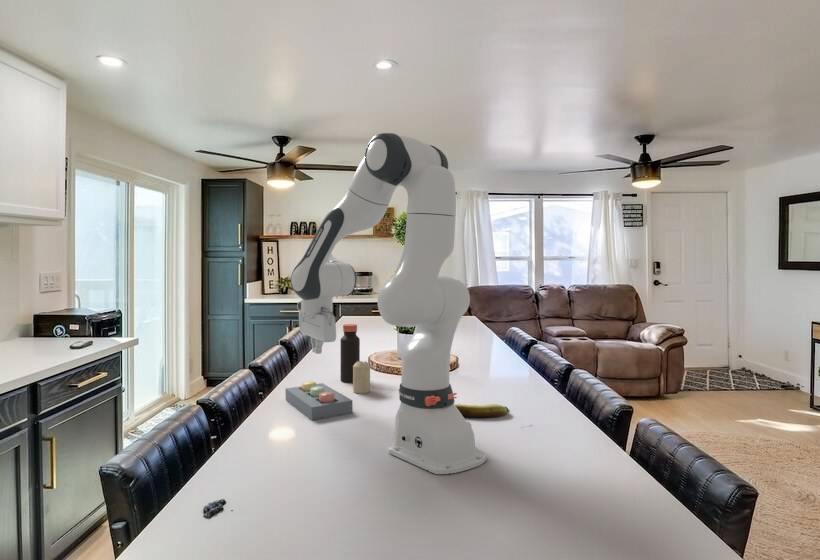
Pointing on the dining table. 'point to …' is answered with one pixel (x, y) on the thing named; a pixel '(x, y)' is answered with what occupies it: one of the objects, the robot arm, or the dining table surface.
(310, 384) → the mustard button
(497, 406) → the green and grey pieces
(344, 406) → the button panel
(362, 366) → the candle
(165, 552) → the dining table surface
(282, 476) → the dining table surface
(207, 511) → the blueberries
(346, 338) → the bottle
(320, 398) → the brick button
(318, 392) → the sage button
